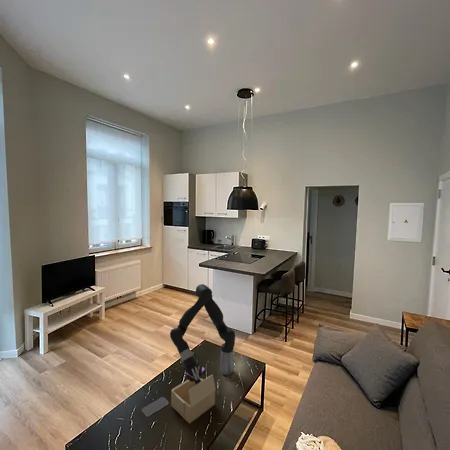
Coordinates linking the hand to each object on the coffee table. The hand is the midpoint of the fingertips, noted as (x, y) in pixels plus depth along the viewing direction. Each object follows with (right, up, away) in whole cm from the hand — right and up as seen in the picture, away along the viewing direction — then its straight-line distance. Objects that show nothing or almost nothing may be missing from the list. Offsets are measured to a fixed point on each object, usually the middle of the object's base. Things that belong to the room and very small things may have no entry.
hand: (199, 386), depth 152 cm
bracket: (-6, -13, +36) cm, 39 cm away
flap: (+2, -1, -1) cm, 2 cm away
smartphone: (-28, -15, +3) cm, 32 cm away
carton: (-5, -15, +5) cm, 17 cm away
